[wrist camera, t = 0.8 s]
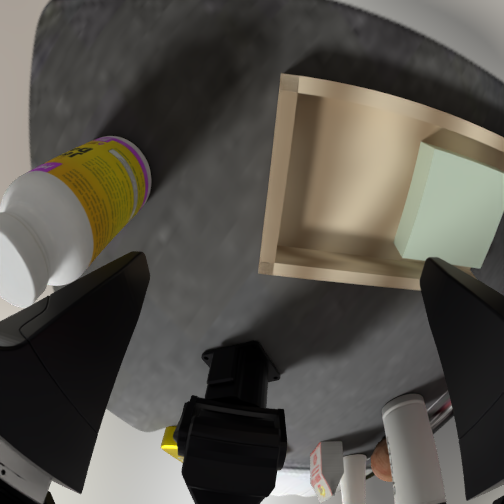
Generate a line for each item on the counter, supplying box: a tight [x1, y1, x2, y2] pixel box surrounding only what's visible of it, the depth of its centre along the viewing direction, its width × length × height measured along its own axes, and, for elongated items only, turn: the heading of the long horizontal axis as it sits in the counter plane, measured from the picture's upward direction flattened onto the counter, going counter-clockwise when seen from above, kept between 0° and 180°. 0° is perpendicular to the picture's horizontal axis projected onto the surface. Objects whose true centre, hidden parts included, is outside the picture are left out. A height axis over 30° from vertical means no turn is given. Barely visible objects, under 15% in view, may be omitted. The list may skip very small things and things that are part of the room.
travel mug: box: [382, 394, 446, 504], centre depth 26 cm, size 6×7×20 cm
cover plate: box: [393, 142, 504, 269], centre depth 18 cm, size 8×8×2 cm
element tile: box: [161, 426, 184, 463], centre depth 42 cm, size 15×15×5 cm
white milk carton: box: [310, 441, 344, 503], centre depth 39 cm, size 4×7×10 cm, turn 174°
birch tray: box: [258, 73, 504, 290], centre depth 19 cm, size 19×13×3 cm
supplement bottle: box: [0, 136, 151, 308], centre depth 16 cm, size 7×7×13 cm
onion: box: [371, 437, 392, 482], centre depth 37 cm, size 10×9×10 cm
